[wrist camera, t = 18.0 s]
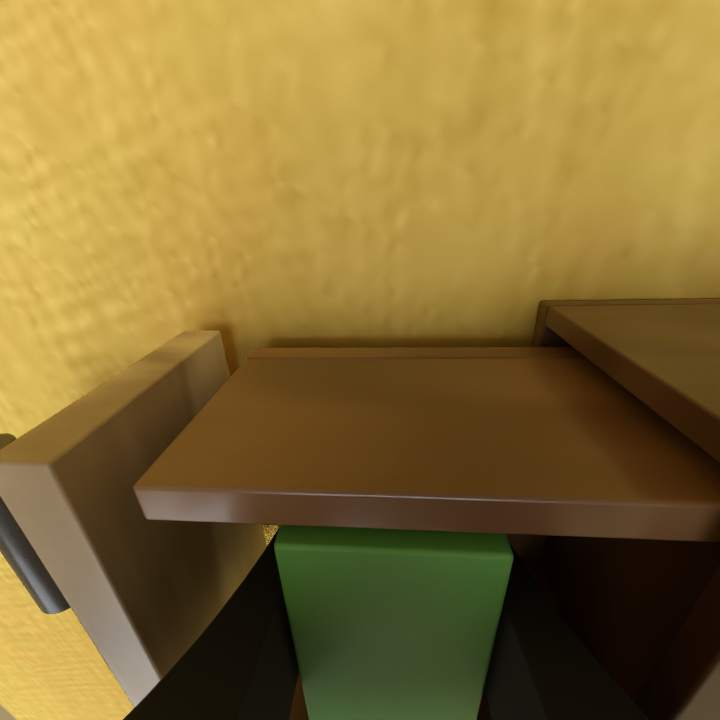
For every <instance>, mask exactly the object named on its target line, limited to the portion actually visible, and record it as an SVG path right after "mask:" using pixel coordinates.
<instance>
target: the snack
mask: <svg viewBox="0 0 720 720" xmlns="http://www.w3.org/2000/svg"><path fill="white" fill-rule="evenodd" d="M274 550H275V555H276V560H277V565H278V570H279V575H280V579H281V584H282V589H283V594H284V599H285V604H286V609H287V614H288V619H289V624H290V629H291V634H292V638H293V643H294V648H295V653H296V658H297V663H298V668H299V673H300V678H301V683H302V688H303V692H304V697H305V702H306V707H307V712H308V717H309V720H477V715H478V711H479V707H480V702H481V698H482V693H483V689H484V685H485V680H486V676H487V672H488V667H489V663H490V659H491V654H492V650H493V646H494V641H495V637H496V632H497V628H498V624H499V619H500V615H501V611H502V606H503V602H504V598H505V593H506V589H507V585H508V580H509V576H510V571H511V567H512V563H513V557H514V556H513V553H512V550H511V547H510V544H509V541H508V539H507V536H506V534H496V533H471V532H446V531H420V530H395V529H370V528H344V527H319V526H293V525H280V528H279V531H278V534H277V537H276V540H275V543H274Z"/></svg>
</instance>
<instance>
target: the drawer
mask: <svg viewBox="0 0 720 720" xmlns="http://www.w3.org/2000/svg"><path fill="white" fill-rule="evenodd" d="M262 524H268V525H278V528H279V527H280V525H293V526H319V527H344V528H370V529H395V530H420V531H446V532H471V533H496V534H506V536H507V539H508V541H509V543H510V544H511V546H512V547H513V549H514V550H515V552H516V553H517V555H518V556H519V558H520V559H521V561H522V562H523V563H524V565H525V566H526V568H527V569H528V571H529V572H530V573H531V575H532V576H533V578H534V579H535V580H536V582H537V583H538V585H539V586H540V587H541V589H542V590H543V592H544V593H545V594H546V596H547V597H548V598H549V600H550V601H551V602H552V604H553V605H554V606H555V608H556V609H557V610H558V612H559V613H560V614H561V616H562V617H563V618H564V620H565V621H566V622H567V623H568V625H569V626H570V627H571V629H572V630H573V631H574V632H575V634H576V635H577V636H578V637H579V639H580V640H581V641H582V642H583V644H584V645H585V646H586V647H587V649H588V650H589V651H590V652H591V653H592V655H593V656H594V657H595V658H596V660H597V661H598V662H599V663H600V664H601V666H602V667H603V668H604V669H605V670H606V671H607V673H608V674H609V675H610V676H611V677H612V678H613V680H614V681H615V682H616V683H617V684H618V685H619V687H620V688H621V689H622V690H623V691H624V692H625V693H626V695H627V696H628V697H629V698H630V699H631V700H632V701H633V702H634V703H635V702H636V700H637V698H638V697H639V695H640V693H641V692H642V690H643V689H644V687H645V685H646V684H647V682H648V680H649V679H650V677H651V675H652V674H653V672H654V671H655V669H656V667H657V666H658V664H659V662H660V661H661V659H662V657H663V656H664V654H665V652H666V651H667V649H668V648H669V646H670V644H671V643H672V641H673V639H674V638H675V636H676V634H677V633H678V631H679V629H680V628H681V626H682V625H683V623H684V621H685V620H686V618H687V616H688V615H689V613H690V611H691V610H692V608H693V606H694V605H695V603H696V602H697V600H698V598H699V597H700V595H701V593H702V592H703V590H704V588H705V587H706V585H707V583H708V582H709V580H710V579H711V577H712V575H713V574H714V572H715V570H716V569H717V567H718V565H719V564H720V463H719V462H718V461H716V460H715V459H714V458H713V457H711V456H710V455H709V454H708V453H706V452H705V451H704V450H703V449H701V448H700V447H699V446H698V445H696V444H695V443H694V442H692V441H691V440H690V439H689V438H687V437H686V436H685V435H684V434H682V433H681V432H680V431H679V430H677V429H676V428H675V427H673V426H672V425H671V424H670V423H668V422H667V421H666V420H665V419H663V418H662V417H661V416H660V415H658V414H657V413H656V412H654V411H653V410H652V409H651V408H649V407H648V406H647V405H646V404H644V403H643V402H642V401H641V400H639V399H638V398H637V397H636V396H634V395H633V394H632V393H630V392H629V391H628V390H627V389H625V388H624V387H623V386H622V385H620V384H619V383H618V382H617V381H615V380H614V379H613V378H611V377H610V376H609V375H608V374H606V373H605V372H604V371H603V370H601V369H600V368H599V367H598V366H596V365H595V364H594V363H593V362H591V361H590V360H589V359H587V358H586V357H585V356H584V355H582V354H581V353H580V352H579V351H577V350H576V349H575V348H574V347H337V348H255V349H254V350H253V351H252V352H251V353H250V355H249V356H248V357H247V359H246V360H245V361H244V362H243V363H242V364H241V365H240V366H239V368H238V369H237V370H236V371H235V372H234V373H233V374H232V375H231V376H230V374H229V370H228V365H227V360H226V356H225V351H224V346H223V342H222V337H221V332H220V331H184V332H183V333H181V334H179V335H178V336H176V337H175V338H173V339H172V340H170V341H169V342H167V343H165V344H164V345H162V346H161V347H159V348H158V349H156V350H155V351H153V352H151V353H150V354H148V355H147V356H145V357H144V358H142V359H141V360H139V361H137V362H136V363H134V364H133V365H131V366H130V367H128V368H126V369H125V370H123V371H122V372H120V373H119V374H117V375H116V376H114V377H112V378H111V379H109V380H108V381H106V382H105V383H103V384H102V385H100V386H98V387H97V388H95V389H94V390H92V391H91V392H89V393H88V394H86V395H84V396H83V397H81V398H80V399H78V400H77V401H75V402H74V403H72V404H70V405H69V406H67V407H66V408H64V409H63V410H61V411H60V412H58V413H56V414H55V415H53V416H52V417H50V418H49V419H47V420H46V421H44V422H42V423H41V424H39V425H38V426H36V427H35V428H33V429H32V430H30V431H28V432H27V433H25V434H24V435H22V436H21V437H19V438H18V439H16V437H15V436H13V435H11V434H6V433H5V434H0V552H1V553H2V555H3V556H4V558H5V559H6V560H7V562H8V563H9V565H10V566H11V568H12V569H13V570H14V572H15V573H16V575H17V576H18V578H19V579H20V581H21V582H22V583H23V585H24V586H25V588H26V589H27V591H28V592H29V593H30V595H31V596H32V598H33V599H34V601H35V602H36V604H37V605H38V606H39V608H40V609H41V611H42V612H44V613H46V614H56V613H60V612H63V611H65V610H67V609H69V608H70V607H71V608H72V610H73V612H74V613H75V615H76V616H77V618H78V620H79V621H80V623H81V624H82V626H83V627H84V629H85V631H86V632H87V634H88V635H89V637H90V638H91V640H92V642H93V643H94V645H95V646H96V648H97V650H98V651H99V653H100V654H101V656H102V657H103V659H104V661H105V662H106V664H107V665H108V667H109V669H110V670H111V672H112V673H113V675H114V676H115V678H116V680H117V681H118V683H119V684H120V686H121V687H122V689H123V691H124V692H125V694H126V695H127V697H128V699H129V700H130V702H131V703H132V705H133V706H134V708H135V707H136V706H137V705H138V704H139V703H140V702H141V701H142V699H143V698H144V697H145V696H146V695H147V694H148V693H149V692H150V691H151V690H152V689H153V688H154V687H155V686H156V685H157V683H158V682H159V681H160V680H161V679H162V678H163V677H164V676H165V675H166V674H167V672H168V671H169V670H170V669H171V668H172V667H173V666H174V665H175V664H176V663H177V661H178V660H179V659H180V658H181V657H182V656H183V655H184V654H185V652H186V651H187V650H188V649H189V648H190V647H191V645H192V644H193V643H194V642H195V641H196V640H197V638H198V637H199V636H200V635H201V634H202V633H203V631H204V630H205V629H206V628H207V627H208V625H209V624H210V623H211V622H212V620H213V619H214V618H215V617H216V615H217V614H218V613H219V612H220V610H221V609H222V608H223V607H224V605H225V604H226V603H227V601H228V600H229V599H230V597H231V596H232V595H233V593H234V592H235V591H236V589H237V588H238V587H239V585H240V584H241V583H242V581H243V580H244V579H245V577H246V576H247V575H248V573H249V572H250V570H251V569H252V568H253V566H254V565H255V563H256V562H257V560H258V559H259V557H260V556H261V555H262V553H263V552H264V550H265V549H266V547H267V546H266V541H265V537H264V532H263V527H262ZM289 720H309V717H308V712H307V707H306V702H305V697H304V692H303V688H302V683H301V678H300V673H299V675H298V680H297V684H296V688H295V693H294V698H293V703H292V708H291V713H290V719H289ZM477 720H492V719H491V714H490V709H489V704H488V700H487V696H486V692H485V688H484V689H483V693H482V698H481V702H480V707H479V711H478V715H477Z"/></svg>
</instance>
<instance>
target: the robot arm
mask: <svg viewBox="0 0 720 720" xmlns="http://www.w3.org/2000/svg"><path fill="white" fill-rule="evenodd" d="M279 528H280V527H279ZM278 531H279V529H278V530H277V532H276V534H275V535H274V537H273V538H272V540H271V541H270V543H269V544H268V546H267V547H266V549H265V550H264V552H263V553H262V555H261V556H260V557H259V559H258V560H257V562H256V563H255V565H254V566H253V568H252V569H251V570H250V572H249V573H248V575H247V576H246V577H245V579H244V580H243V581H242V583H241V584H240V585H239V587H238V588H237V589H236V591H235V592H234V593H233V595H232V596H231V597H230V599H229V600H228V601H227V603H226V604H225V605H224V607H223V608H222V609H221V610H220V612H219V613H218V614H217V615H216V617H215V618H214V619H213V620H212V622H211V623H210V624H209V625H208V627H207V628H206V629H205V630H204V631H203V633H202V634H201V635H200V636H199V637H198V638H197V640H196V641H195V642H194V643H193V644H192V645H191V647H190V648H189V649H188V650H187V651H186V652H185V654H184V655H183V656H182V657H181V658H180V659H179V660H178V661H177V663H176V664H175V665H174V666H173V667H172V668H171V669H170V670H169V671H168V672H167V674H166V675H165V676H164V677H163V678H162V679H161V680H160V681H159V682H158V683H157V685H156V686H155V687H154V688H153V689H152V690H151V691H150V692H149V693H148V694H147V695H146V696H145V697H144V698H143V699H142V701H141V702H140V703H139V704H138V705H137V706H136V707H135V708H134V709H133V710H132V711H131V712H130V713H129V714H128V715H127V716H126V717H125V718H124V719H123V720H289V719H290V713H291V708H292V703H293V698H294V693H295V688H296V684H297V680H298V675H299V668H298V663H297V658H296V653H295V648H294V643H293V638H292V634H291V629H290V624H289V619H288V614H287V609H286V604H285V599H284V594H283V589H282V584H281V579H280V575H279V570H278V565H277V560H276V555H275V550H274V543H275V540H276V537H277V534H278ZM509 544H510V543H509ZM510 547H511V550H512V553H513V556H514V557H513V563H512V567H511V571H510V576H509V580H508V585H507V589H506V593H505V598H504V602H503V606H502V611H501V615H500V619H499V624H498V628H497V632H496V637H495V641H494V646H493V650H492V654H491V659H490V663H489V667H488V672H487V676H486V680H485V685H484V688H485V692H486V696H487V700H488V704H489V709H490V714H491V719H492V720H649V719H648V718H647V717H646V716H645V715H644V714H643V712H642V711H641V710H640V709H639V708H638V707H637V706H636V705H635V704H634V702H633V701H632V700H631V699H630V698H629V697H628V696H627V695H626V693H625V692H624V691H623V690H622V689H621V688H620V687H619V685H618V684H617V683H616V682H615V681H614V680H613V678H612V677H611V676H610V675H609V674H608V673H607V671H606V670H605V669H604V668H603V667H602V666H601V664H600V663H599V662H598V661H597V660H596V658H595V657H594V656H593V655H592V653H591V652H590V651H589V650H588V649H587V647H586V646H585V645H584V644H583V642H582V641H581V640H580V639H579V637H578V636H577V635H576V634H575V632H574V631H573V630H572V629H571V627H570V626H569V625H568V623H567V622H566V621H565V620H564V618H563V617H562V616H561V614H560V613H559V612H558V610H557V609H556V608H555V606H554V605H553V604H552V602H551V601H550V600H549V598H548V597H547V596H546V594H545V593H544V592H543V590H542V589H541V587H540V586H539V585H538V583H537V582H536V580H535V579H534V578H533V576H532V575H531V573H530V572H529V571H528V569H527V568H526V566H525V565H524V563H523V562H522V561H521V559H520V558H519V556H518V555H517V553H516V552H515V550H514V549H513V547H512V546H511V544H510Z"/></svg>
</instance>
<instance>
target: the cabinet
mask: <svg viewBox="0 0 720 720" xmlns="http://www.w3.org/2000/svg"><path fill="white" fill-rule="evenodd" d="M532 347H574V348H575V349H576V350H577V351H579V352H580V353H581V354H582V355H584V356H585V357H586V358H587V359H589V360H590V361H591V362H593V363H594V364H595V365H596V366H598V367H599V368H600V369H601V370H603V371H604V372H605V373H606V374H608V375H609V376H610V377H611V378H613V379H614V380H615V381H617V382H618V383H619V384H620V385H622V386H623V387H624V388H625V389H627V390H628V391H629V392H630V393H632V394H633V395H634V396H636V397H637V398H638V399H639V400H641V401H642V402H643V403H644V404H646V405H647V406H648V407H649V408H651V409H652V410H653V411H654V412H656V413H657V414H658V415H660V416H661V417H662V418H663V419H665V420H666V421H667V422H668V423H670V424H671V425H672V426H673V427H675V428H676V429H677V430H679V431H680V432H681V433H682V434H684V435H685V436H686V437H687V438H689V439H690V440H691V441H692V442H694V443H695V444H696V445H698V446H699V447H700V448H701V449H703V450H704V451H705V452H706V453H708V454H709V455H710V456H711V457H713V458H714V459H715V460H716V461H718V462H719V463H720V299H646V300H571V301H541V303H540V308H539V313H538V319H537V324H536V329H535V335H534V340H533V345H532ZM634 704H635V705H636V706H637V707H638V708H639V709H640V710H641V711H642V712H643V714H644V715H645V716H646V717H647V718H648V719H649V720H720V564H719V565H718V567H717V569H716V570H715V572H714V574H713V575H712V577H711V579H710V580H709V582H708V583H707V585H706V587H705V588H704V590H703V592H702V593H701V595H700V597H699V598H698V600H697V602H696V603H695V605H694V606H693V608H692V610H691V611H690V613H689V615H688V616H687V618H686V620H685V621H684V623H683V625H682V626H681V628H680V629H679V631H678V633H677V634H676V636H675V638H674V639H673V641H672V643H671V644H670V646H669V648H668V649H667V651H666V652H665V654H664V656H663V657H662V659H661V661H660V662H659V664H658V666H657V667H656V669H655V671H654V672H653V674H652V675H651V677H650V679H649V680H648V682H647V684H646V685H645V687H644V689H643V690H642V692H641V693H640V695H639V697H638V698H637V700H636V702H635V703H634Z"/></svg>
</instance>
